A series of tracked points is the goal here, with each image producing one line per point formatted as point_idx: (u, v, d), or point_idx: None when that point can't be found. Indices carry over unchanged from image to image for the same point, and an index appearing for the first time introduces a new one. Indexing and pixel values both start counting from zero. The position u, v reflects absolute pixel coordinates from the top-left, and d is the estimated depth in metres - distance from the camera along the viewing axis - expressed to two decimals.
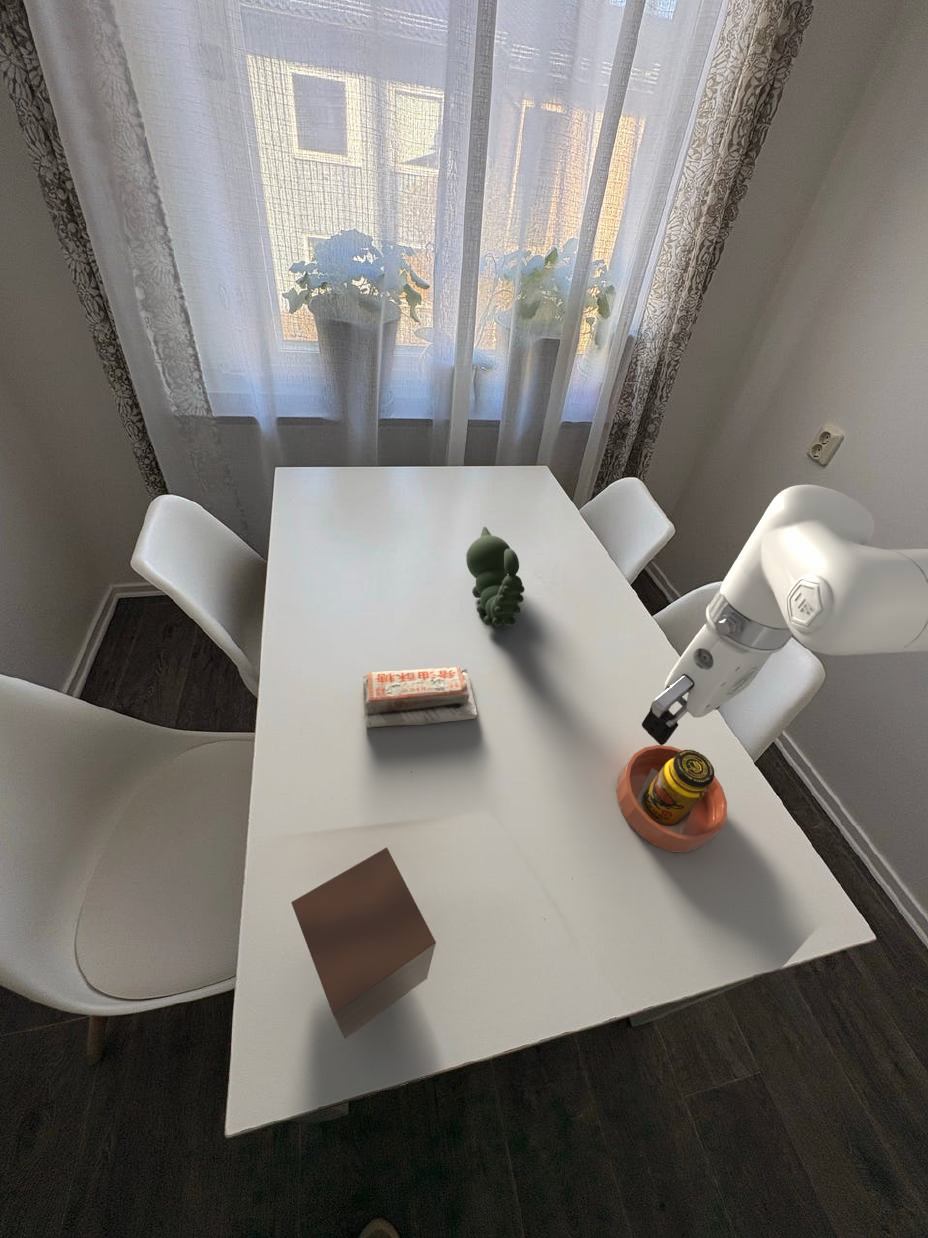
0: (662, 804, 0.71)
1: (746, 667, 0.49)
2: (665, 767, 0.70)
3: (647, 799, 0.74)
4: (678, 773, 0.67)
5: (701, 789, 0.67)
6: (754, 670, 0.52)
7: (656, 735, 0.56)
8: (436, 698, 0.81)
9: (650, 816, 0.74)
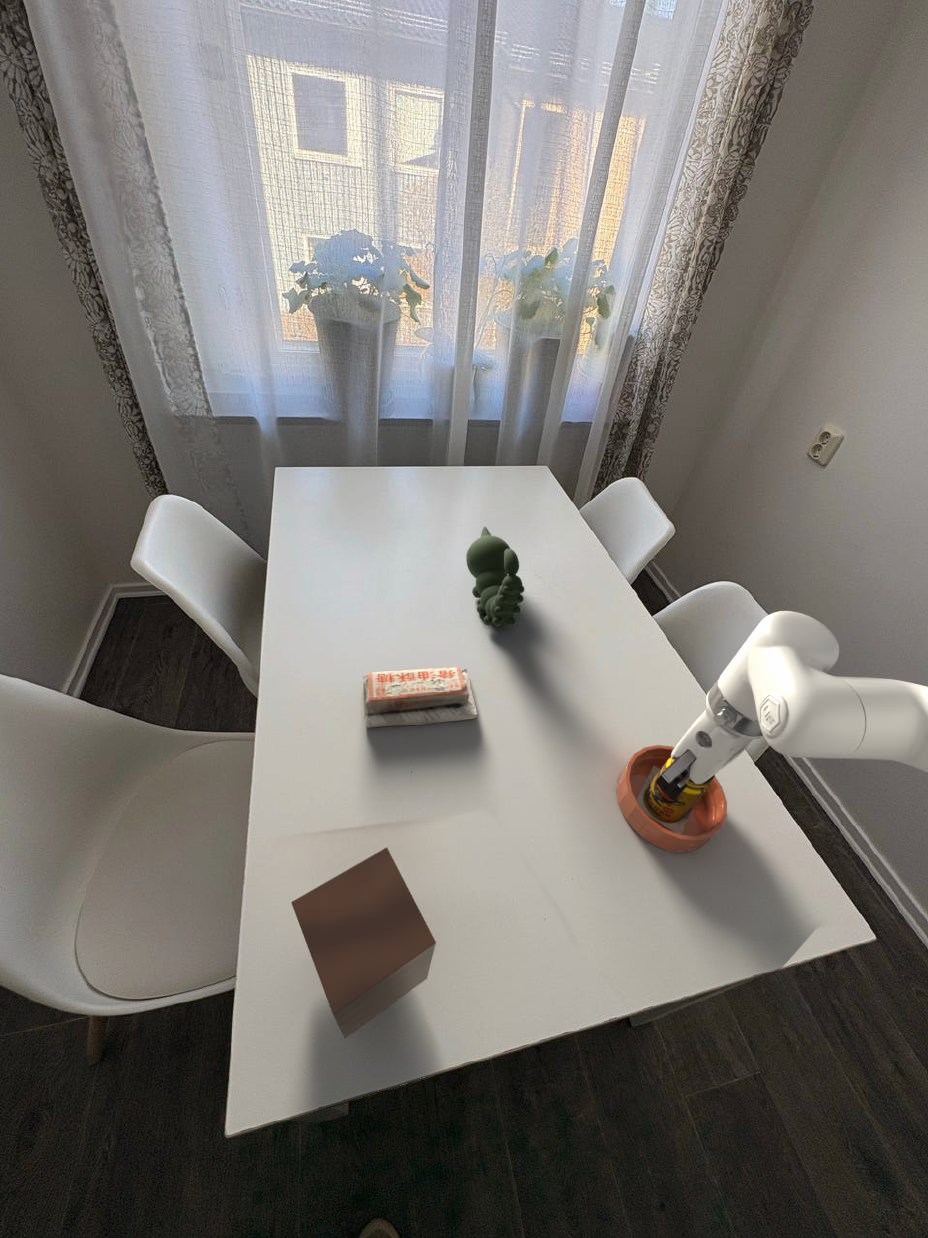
0: (663, 801, 0.72)
1: (739, 747, 0.59)
2: (667, 764, 0.71)
3: (648, 796, 0.75)
4: None
5: (702, 786, 0.67)
6: (746, 745, 0.62)
7: (668, 792, 0.68)
8: (436, 698, 0.81)
9: (651, 813, 0.75)
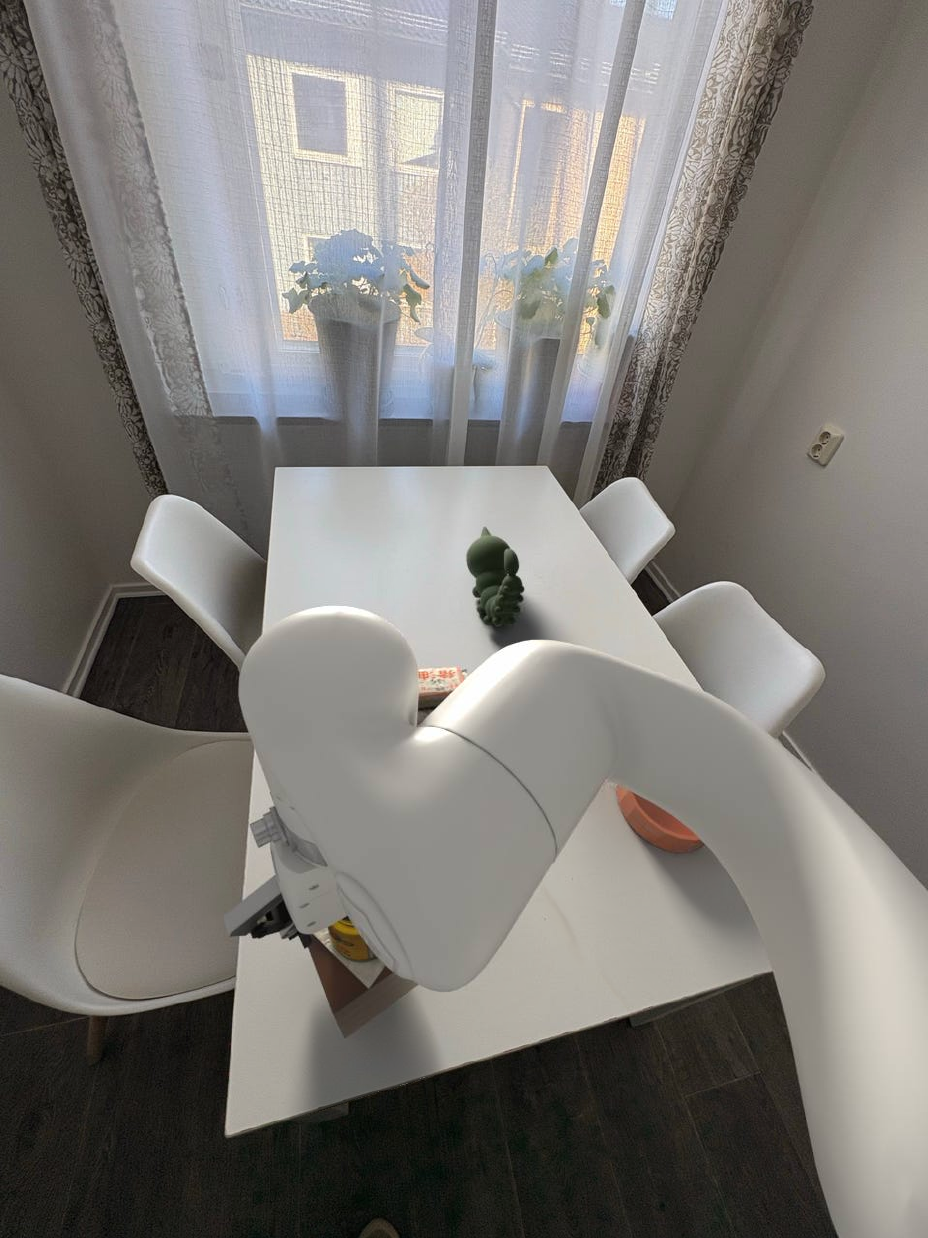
0: (331, 934, 0.43)
1: None
2: None
3: None
4: None
5: None
6: None
7: None
8: (436, 698, 0.81)
9: (334, 944, 0.46)
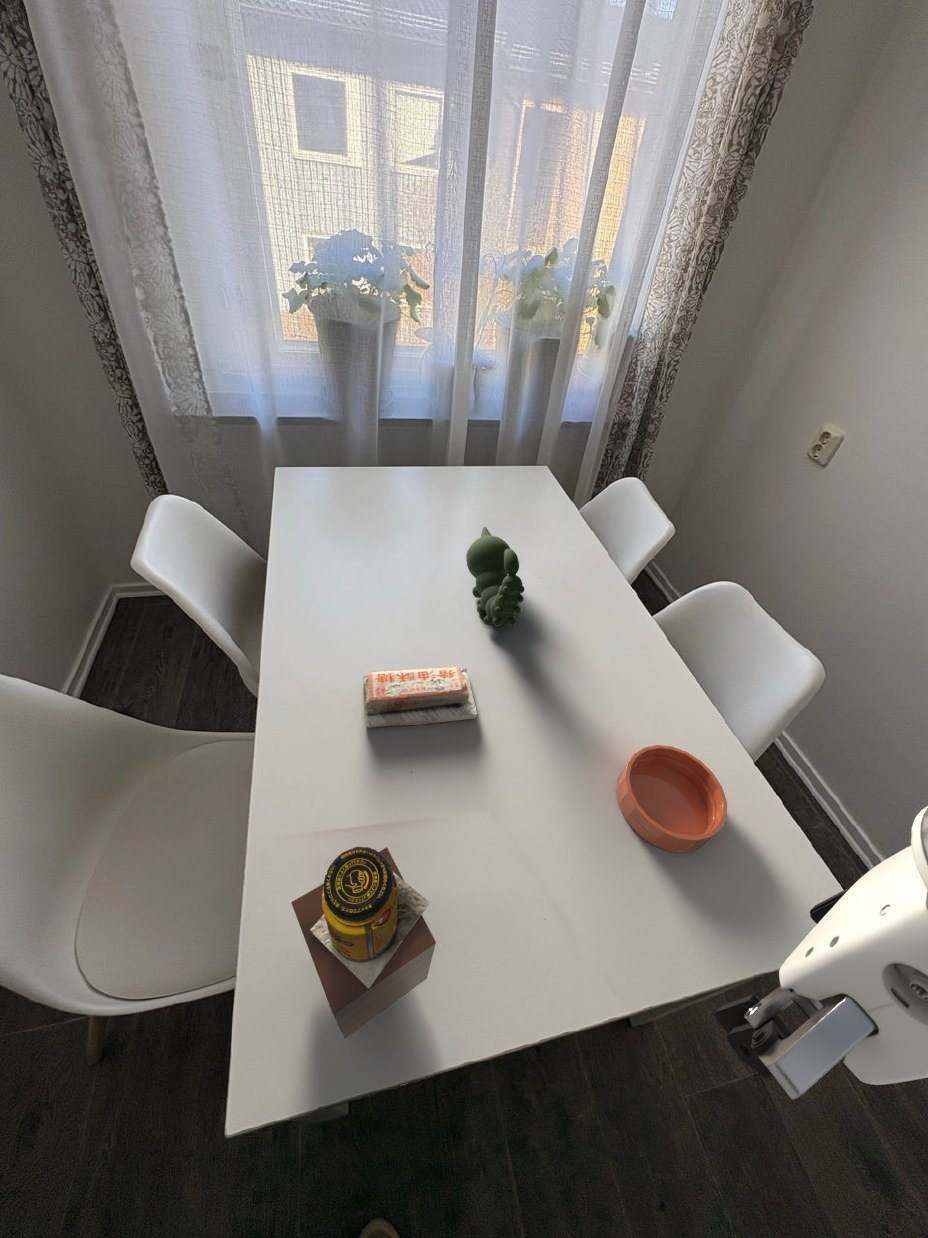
0: (331, 934, 0.43)
1: None
2: None
3: None
4: (324, 893, 0.39)
5: (361, 923, 0.38)
6: None
7: (754, 1065, 0.26)
8: (436, 698, 0.81)
9: (334, 944, 0.46)
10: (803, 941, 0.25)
